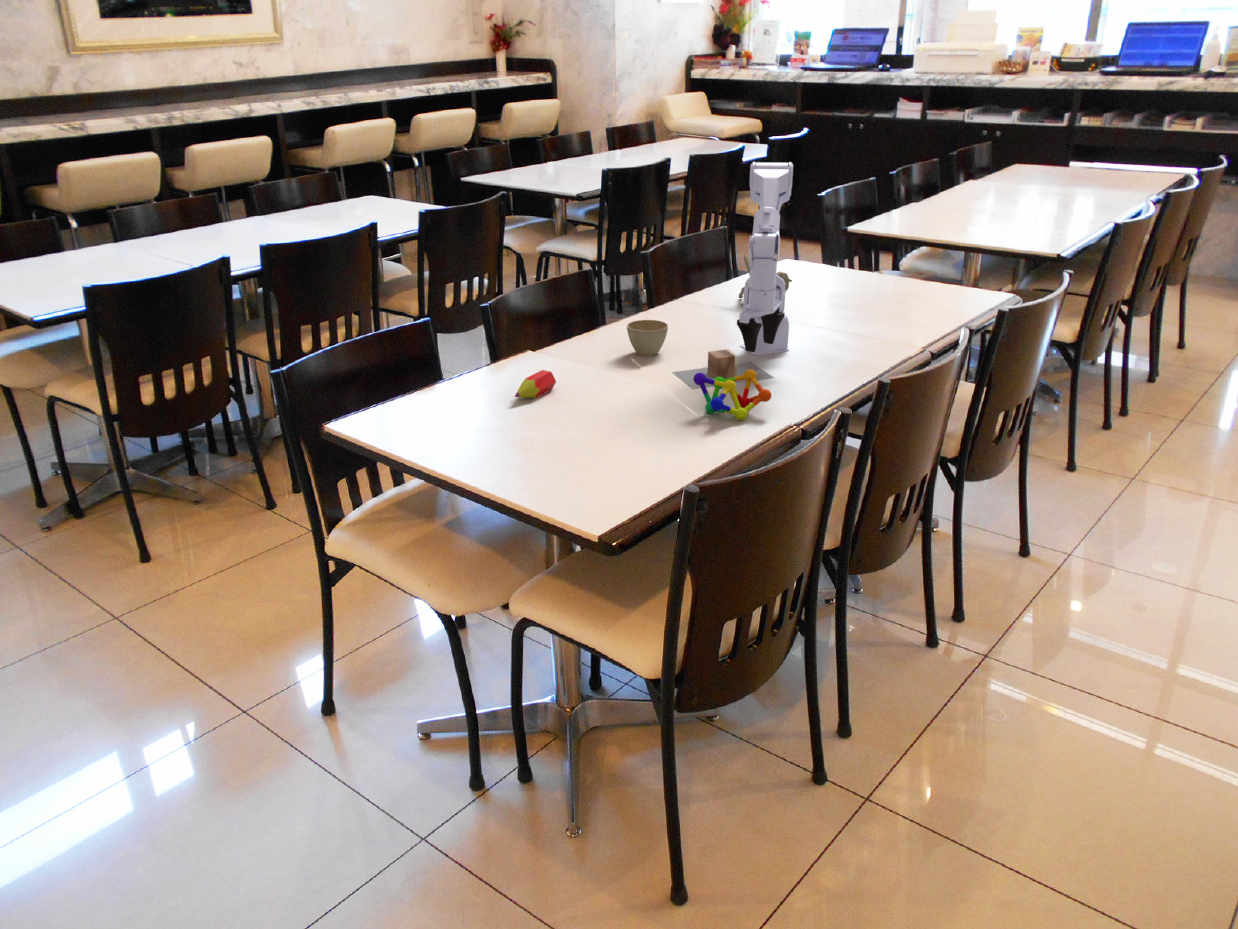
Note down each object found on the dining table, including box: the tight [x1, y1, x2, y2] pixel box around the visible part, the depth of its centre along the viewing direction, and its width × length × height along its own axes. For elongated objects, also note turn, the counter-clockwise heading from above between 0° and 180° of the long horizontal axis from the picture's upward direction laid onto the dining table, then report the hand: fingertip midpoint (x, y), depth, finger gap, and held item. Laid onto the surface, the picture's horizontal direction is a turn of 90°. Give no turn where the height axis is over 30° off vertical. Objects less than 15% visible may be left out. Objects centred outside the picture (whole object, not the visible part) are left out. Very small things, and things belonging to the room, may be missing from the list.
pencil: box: [514, 369, 557, 399], centre depth 203 cm, size 5×12×4 cm, turn 149°
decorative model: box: [694, 369, 772, 421], centre depth 192 cm, size 13×9×15 cm
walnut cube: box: [707, 348, 738, 378], centre depth 212 cm, size 5×5×5 cm
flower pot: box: [626, 319, 669, 357], centre depth 228 cm, size 10×10×7 cm
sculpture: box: [738, 254, 793, 299], centre depth 259 cm, size 6×18×30 cm
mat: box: [672, 361, 775, 390], centre depth 213 cm, size 20×12×1 cm, turn 109°
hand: (759, 347), depth 213 cm, fingers open, 7 cm apart
